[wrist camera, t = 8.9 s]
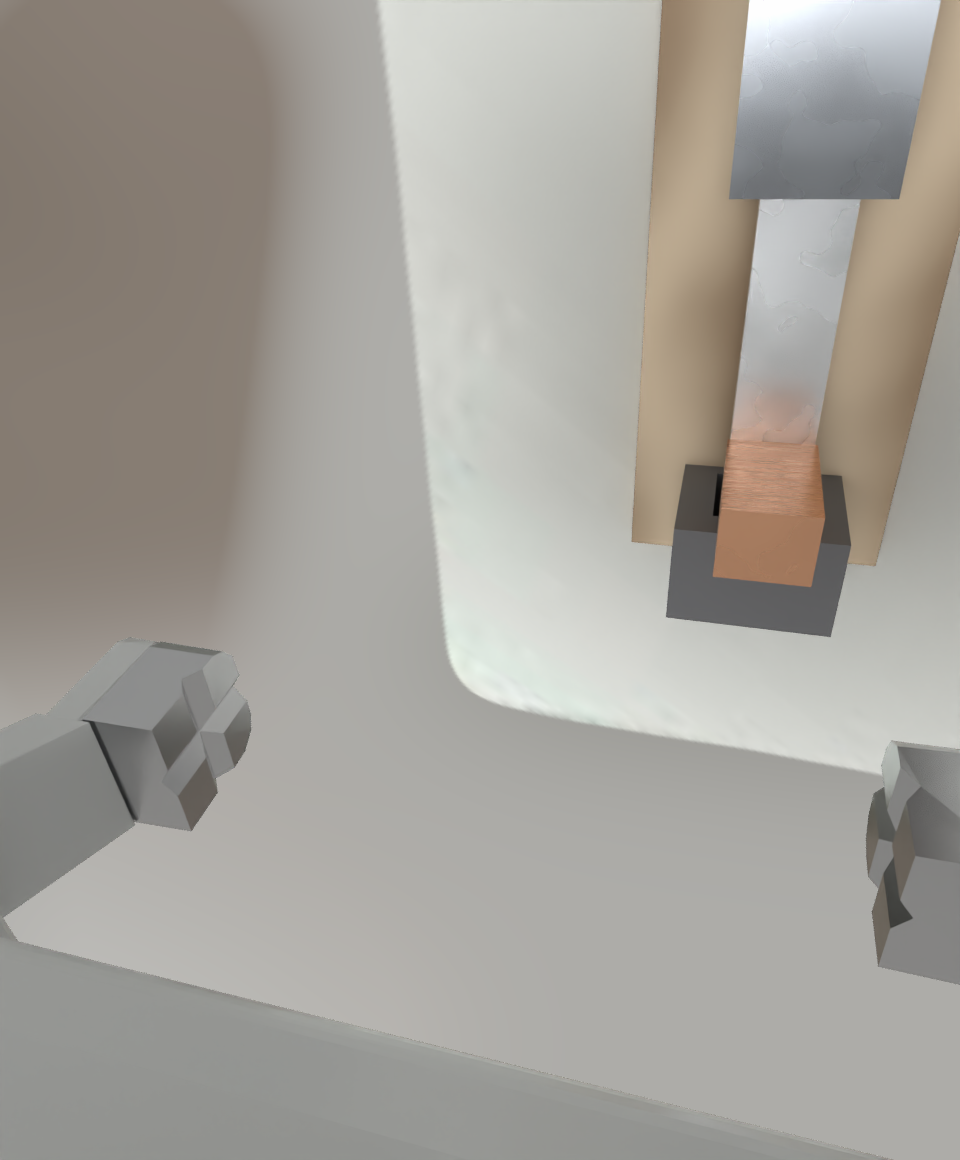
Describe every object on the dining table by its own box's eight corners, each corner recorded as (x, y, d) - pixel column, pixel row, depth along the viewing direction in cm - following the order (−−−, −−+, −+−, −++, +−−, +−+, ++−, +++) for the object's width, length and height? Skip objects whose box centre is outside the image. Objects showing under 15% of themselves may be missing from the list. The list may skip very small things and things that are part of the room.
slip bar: (867, 122, 26) (896, 168, 20) (791, 542, 35) (795, 665, 29) (765, 124, 27) (763, 169, 21) (715, 535, 36) (702, 653, 29)
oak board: (1063, -214, 23) (1073, -220, 22) (873, 553, 36) (875, 566, 35) (675, -173, 25) (672, -177, 24) (634, 530, 39) (631, 541, 38)
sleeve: (956, -208, 22) (991, -241, 19) (882, 169, 28) (899, 199, 24) (772, -188, 24) (772, -216, 20) (734, 170, 29) (728, 199, 25)
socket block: (841, 475, 34) (851, 545, 30) (823, 560, 36) (830, 636, 32) (685, 463, 35) (674, 529, 31) (677, 546, 37) (666, 617, 33)
